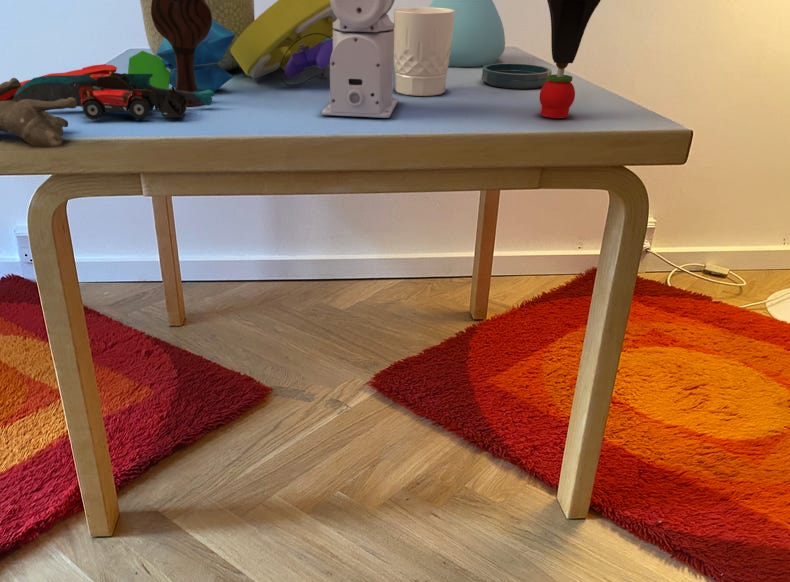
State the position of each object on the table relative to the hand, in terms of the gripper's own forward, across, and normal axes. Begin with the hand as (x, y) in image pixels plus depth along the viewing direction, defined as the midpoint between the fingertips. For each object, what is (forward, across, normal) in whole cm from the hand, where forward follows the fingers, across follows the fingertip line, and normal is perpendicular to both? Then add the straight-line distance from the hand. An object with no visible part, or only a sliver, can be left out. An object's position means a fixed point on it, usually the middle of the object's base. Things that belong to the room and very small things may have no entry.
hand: (562, 61), depth 80 cm
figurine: (+6, -1, +45) cm, 45 cm away
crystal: (+6, +6, +46) cm, 47 cm away
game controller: (+6, +15, +31) cm, 35 cm away
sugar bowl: (+6, +40, +13) cm, 43 cm away
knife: (+2, -9, +52) cm, 52 cm away
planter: (+6, +23, +52) cm, 57 cm away
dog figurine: (+3, -18, +54) cm, 57 cm away
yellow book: (-2, +19, +38) cm, 42 cm away
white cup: (+6, +12, +17) cm, 22 cm away
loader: (+6, -10, +48) cm, 50 cm away
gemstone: (+3, +1, +51) cm, 51 cm away
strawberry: (+6, 0, 0) cm, 6 cm away
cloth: (+3, +1, +63) cm, 63 cm away
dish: (+6, +21, +4) cm, 22 cm away
